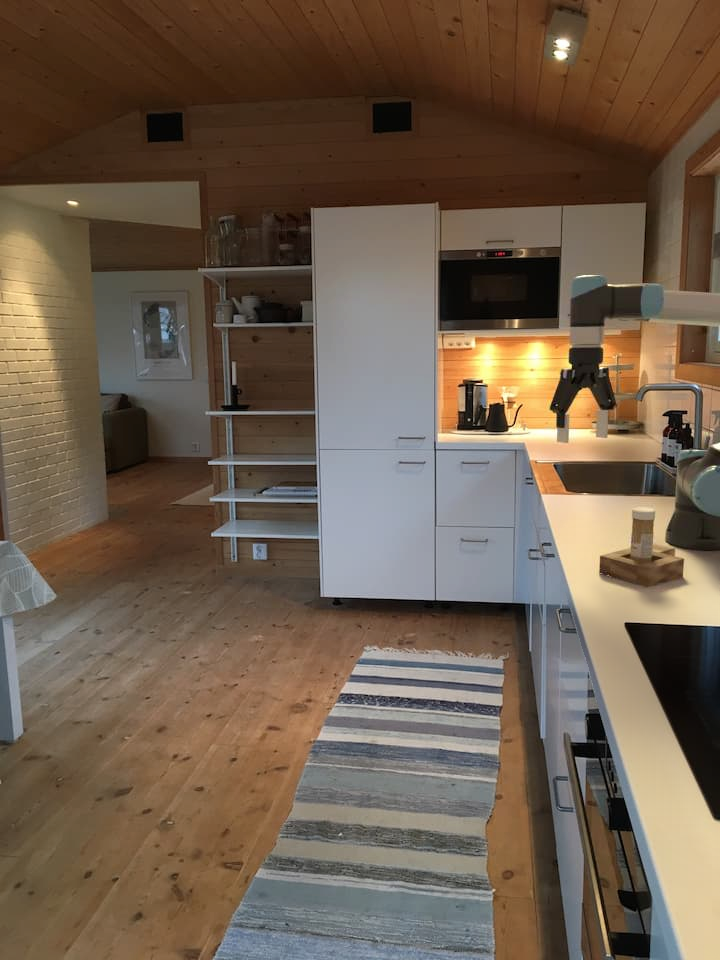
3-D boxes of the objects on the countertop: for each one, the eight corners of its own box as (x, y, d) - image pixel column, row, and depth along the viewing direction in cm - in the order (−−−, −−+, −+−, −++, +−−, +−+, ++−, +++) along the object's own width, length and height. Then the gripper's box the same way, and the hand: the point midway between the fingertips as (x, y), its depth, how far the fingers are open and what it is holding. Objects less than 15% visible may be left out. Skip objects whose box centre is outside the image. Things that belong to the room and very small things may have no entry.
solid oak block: (650, 559, 174) (651, 542, 174) (674, 565, 169) (675, 547, 169) (634, 563, 171) (635, 546, 170) (657, 570, 166) (658, 552, 165)
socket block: (634, 563, 171) (635, 546, 170) (682, 576, 161) (684, 558, 160) (599, 573, 164) (600, 555, 163) (647, 587, 154) (648, 568, 154)
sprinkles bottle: (625, 568, 165) (628, 507, 162) (645, 567, 165) (648, 506, 163) (635, 574, 160) (638, 511, 158) (655, 573, 160) (659, 510, 158)
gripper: (607, 345, 183) (604, 434, 186) (535, 347, 169) (532, 442, 172) (634, 345, 176) (630, 437, 180) (561, 347, 163) (558, 446, 166)
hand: (582, 440), depth 176 cm, fingers open, 13 cm apart
